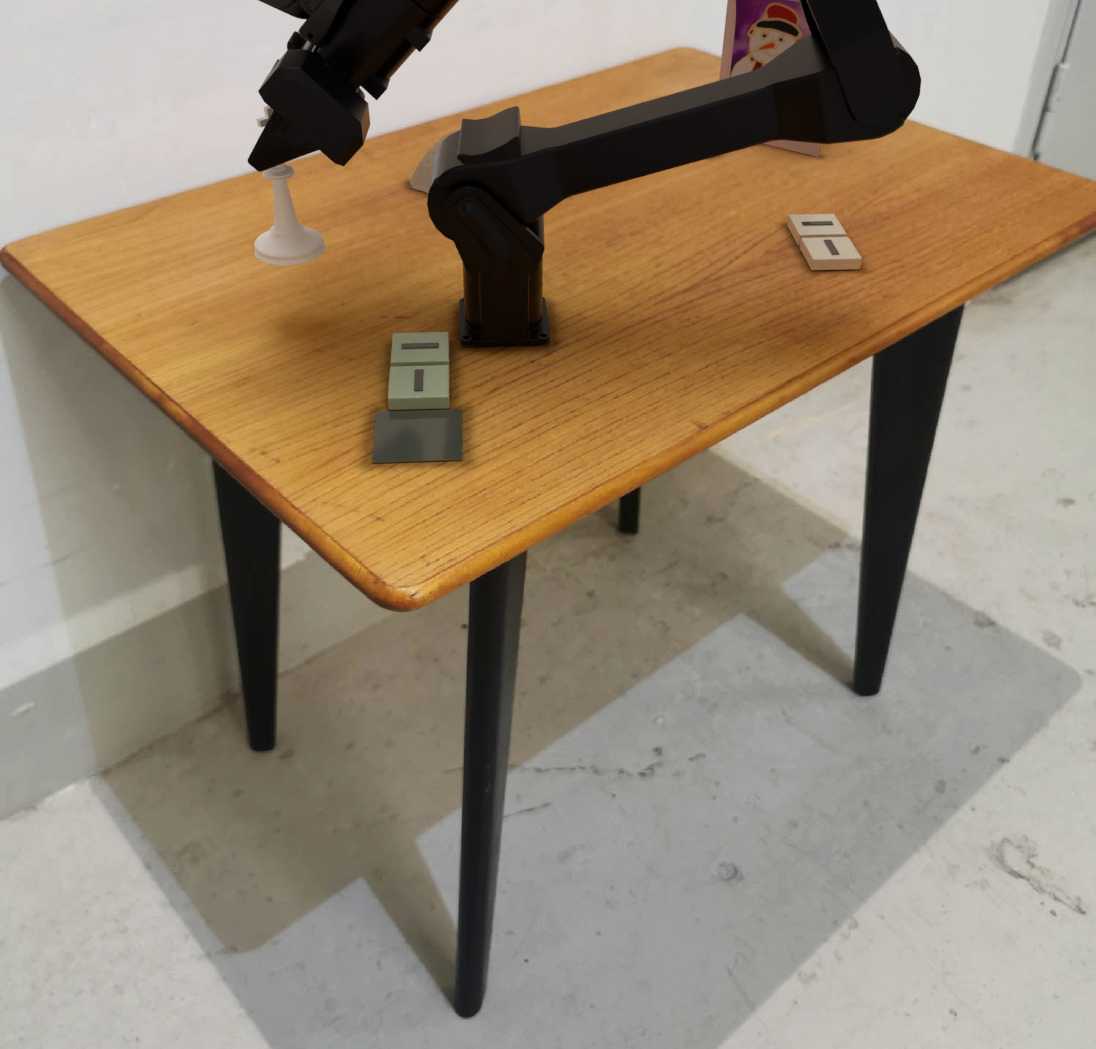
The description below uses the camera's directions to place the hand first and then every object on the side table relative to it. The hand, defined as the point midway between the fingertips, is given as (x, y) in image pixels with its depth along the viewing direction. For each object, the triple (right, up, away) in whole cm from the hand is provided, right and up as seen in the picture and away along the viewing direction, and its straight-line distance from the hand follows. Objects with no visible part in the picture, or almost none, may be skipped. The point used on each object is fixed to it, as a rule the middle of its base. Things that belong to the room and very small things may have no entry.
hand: (256, 159), depth 75 cm
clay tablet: (+14, +9, +31) cm, 35 cm away
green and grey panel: (+11, -16, 0) cm, 19 cm away
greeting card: (+43, +15, +38) cm, 59 cm away
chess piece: (+1, -5, +4) cm, 7 cm away
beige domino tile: (+42, -1, +19) cm, 46 cm away
